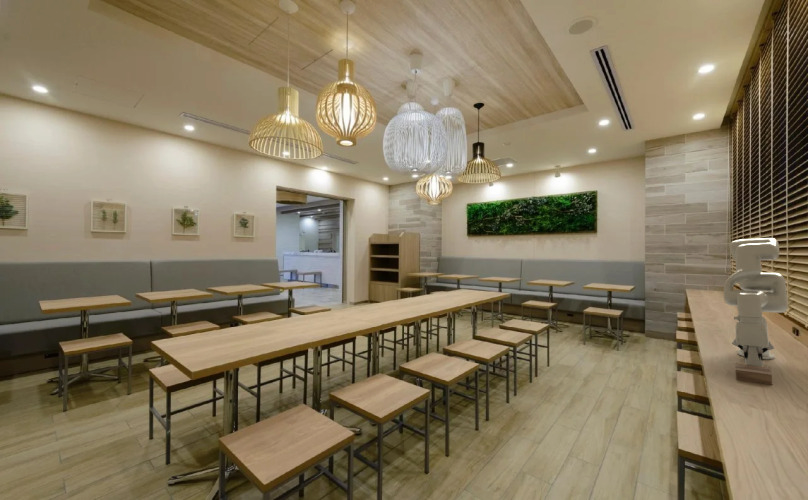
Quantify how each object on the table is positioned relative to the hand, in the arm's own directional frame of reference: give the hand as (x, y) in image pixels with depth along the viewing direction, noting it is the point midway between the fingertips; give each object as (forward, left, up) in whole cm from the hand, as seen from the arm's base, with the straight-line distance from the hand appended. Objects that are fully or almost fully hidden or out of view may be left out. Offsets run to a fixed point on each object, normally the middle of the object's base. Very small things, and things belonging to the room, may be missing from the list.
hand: (753, 360), depth 149 cm
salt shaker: (0, 0, -3) cm, 3 cm away
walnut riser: (+13, -10, -3) cm, 17 cm away
